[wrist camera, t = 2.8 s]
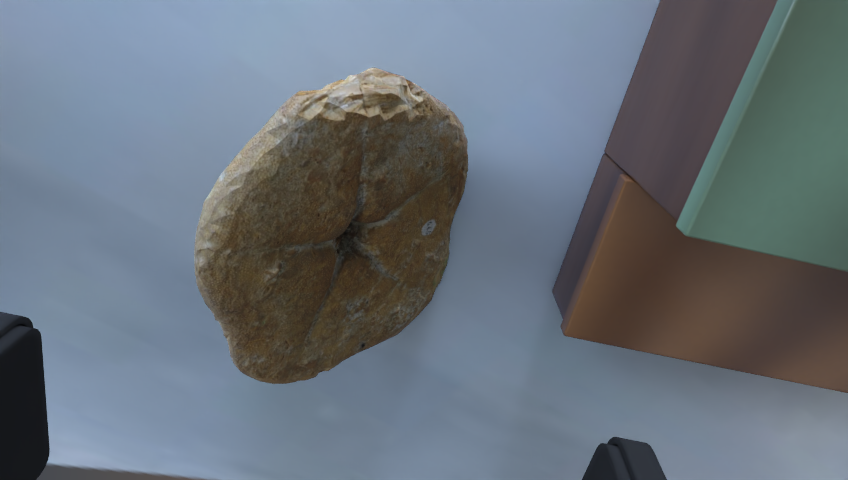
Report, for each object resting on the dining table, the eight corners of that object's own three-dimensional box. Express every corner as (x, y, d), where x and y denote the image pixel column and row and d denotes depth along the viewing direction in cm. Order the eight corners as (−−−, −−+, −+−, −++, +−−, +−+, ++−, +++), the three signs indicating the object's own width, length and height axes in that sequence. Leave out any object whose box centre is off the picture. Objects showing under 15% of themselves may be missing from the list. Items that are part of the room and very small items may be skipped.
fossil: (242, 439, 16) (170, 127, 10) (185, 350, 19) (100, 58, 13) (462, 311, 21) (500, 50, 15) (392, 254, 24) (402, 11, 18)
